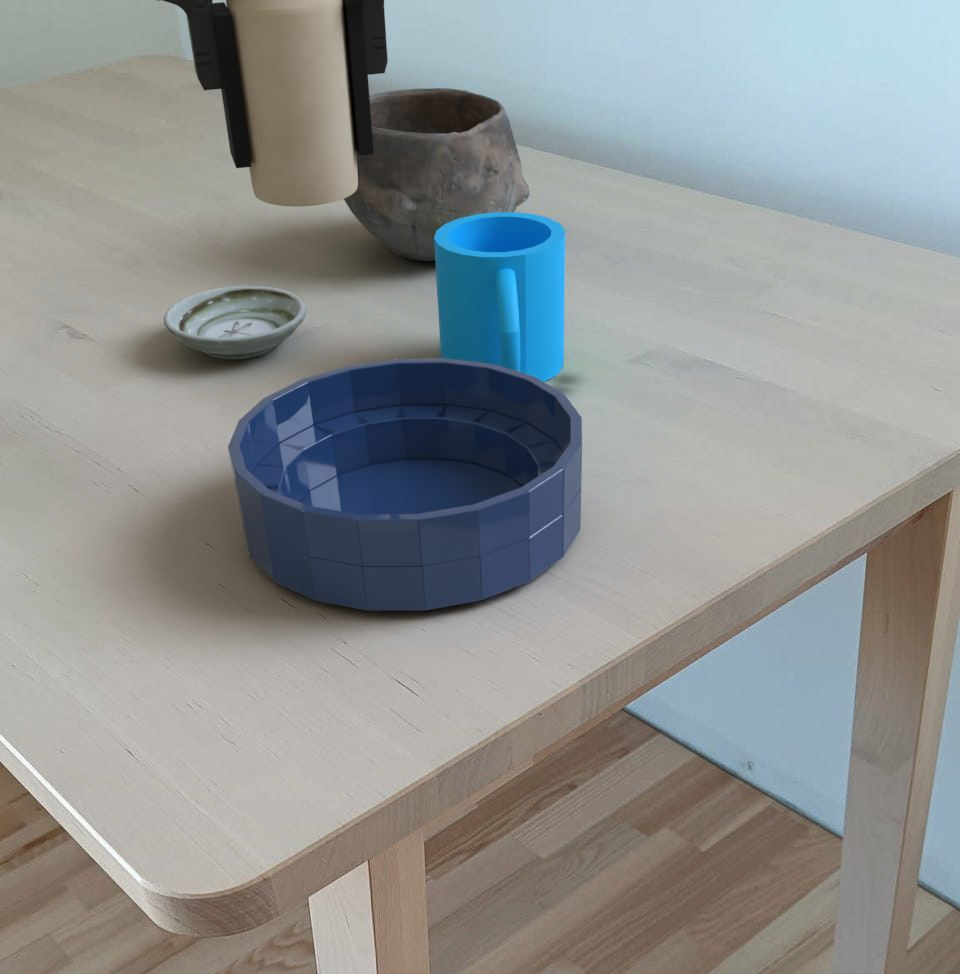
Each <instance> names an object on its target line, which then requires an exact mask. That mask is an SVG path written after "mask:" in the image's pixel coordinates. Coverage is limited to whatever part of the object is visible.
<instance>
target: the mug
mask: <svg viewBox="0 0 960 974" xmlns="http://www.w3.org/2000/svg"><path fill="white" fill-rule="evenodd" d="M434 244H435V260H434V261H435V276H436V277H435V278H436V279H435V280H436V295H437V311H438V327H439V328H438V329H439V343H440V344H439V348H440V358H446V359H447V358H448V359H456V360H464V361H472V362H480V363H488V364H495V365H498V366H502V367H505V368H508V369H511V370H515V371H518V372H521V373H525V374H528V375H531V376H534V377H536V378H538V379H539V380H541V381H543V382H544V383H546V382H547V381H549V380H550V379H553V378H555V377H557V375H558V374H559V373H560V372H561V371H562V370H563V369H564V361H565V293H566V292H565V289H566V288H565V285H566V284H565V283H566V282H565V281H566V280H565V279H566V277H565V276H566V229H565V228H564V226H563V225H562V224H561V223H560V222H558V221H556V220H554V219H552V218H550V217H546V216H543V215H537V214H535V213H527V212H517V211H514V212H493V213H484V214H476V215H471V216H467V217H463V218H459V219H456V220H454V221H451V222H449V223H446V224H445V225H443V226H442V227H441V228H439V229H438V230H437V231H436V234H435V237H434Z"/></svg>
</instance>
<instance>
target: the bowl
mask: <svg viewBox="0 0 960 974" xmlns="http://www.w3.org/2000/svg"><path fill="white" fill-rule="evenodd" d="M369 98H370V111H371V124H372V137H373V150H374V154H369V155H360V156H359V154H358V153H357V151H356V159H357V172H358V187H357V190H356V191H355V192H354V193H353V194H352V195H350V196H348V197H346V198H344V199H343V201H344V202H345V203H346V205H347V207H348V208H349V210H350V212H351V213H352V214H353V215H354V217H355V218H356V219H357V221H358V222H360V224H361V225H362V226H363V228H364V229H366V231H368V232H369V234H371V235H372V236H373V237H374V238H375V239H376V241H378V243H380V245H381V246H383V247H384V248H385V249H387V250H388V251H390V252H393V253H394V254H396V255H398V256H400V257H403V258H406V259H409V260H413V261H414V260H415V261H421V262H423V261H424V262H431V261H435V244H434V237H435V234H436V231H437V230H438V229H439V228H441V227H442V226H443V225H445V224H446V223H449V222H451V221H454V220H456V219H459V218H463V217H467V216H471V215H476V214H484V213H493V212H516V211H515V210H516V209H517V207H518V206H520V205H522V204H523V203H525V202H527V201H528V199H529V197H530V190H529V189H530V186H529V184H528V183H527V181H526V179H525V178H524V175H523V170H522V162H521V159H520V158H521V157H520V155H519V151H518V148H517V144H516V140H515V137H514V133H513V130H512V126H511V123H510V120H509V117H508V114H507V112H506V110H505V107H504V106H503V105H502V103H500V102H499V101H497V100H496V99H494V98H491V97H488V96H486V95H483V94H479V93H475V92H472V91H468V90H465V89H456V88H449V87H447V88H446V87H445V88H443V87H436V88H407V89H397V90H396V89H395V90H389V91H384V92H378V93H374V94H371V95H369Z"/></svg>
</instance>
